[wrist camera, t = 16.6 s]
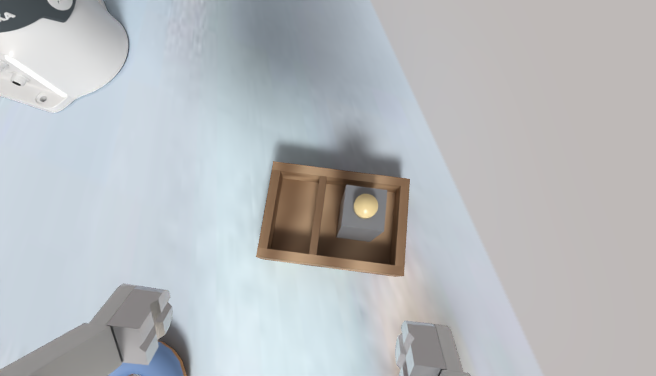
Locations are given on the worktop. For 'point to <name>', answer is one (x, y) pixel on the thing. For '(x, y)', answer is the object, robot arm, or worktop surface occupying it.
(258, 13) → the worktop surface
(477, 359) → the worktop surface
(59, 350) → the robot arm
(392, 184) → the caddy
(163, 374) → the doughnut
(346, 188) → the push button
